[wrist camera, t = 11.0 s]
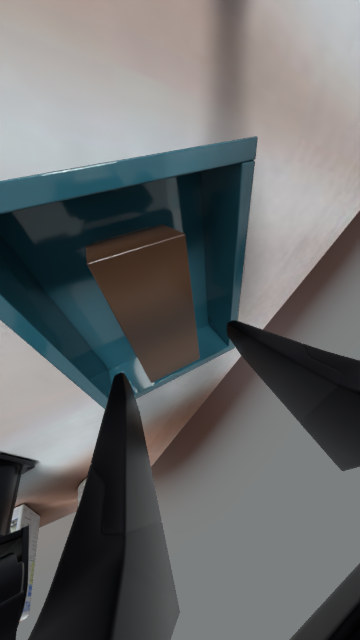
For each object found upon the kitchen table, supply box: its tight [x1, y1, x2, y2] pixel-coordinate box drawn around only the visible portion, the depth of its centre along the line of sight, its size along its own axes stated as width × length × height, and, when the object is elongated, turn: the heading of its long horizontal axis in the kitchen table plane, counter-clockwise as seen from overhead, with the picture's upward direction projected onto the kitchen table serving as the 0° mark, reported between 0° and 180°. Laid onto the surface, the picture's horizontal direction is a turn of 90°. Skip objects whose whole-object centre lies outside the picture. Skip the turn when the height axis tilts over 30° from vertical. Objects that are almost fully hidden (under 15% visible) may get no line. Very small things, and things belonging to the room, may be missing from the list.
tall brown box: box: [85, 224, 200, 383], centre depth 12 cm, size 10×4×5 cm, turn 9°
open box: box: [0, 136, 258, 409], centre depth 13 cm, size 16×14×5 cm
